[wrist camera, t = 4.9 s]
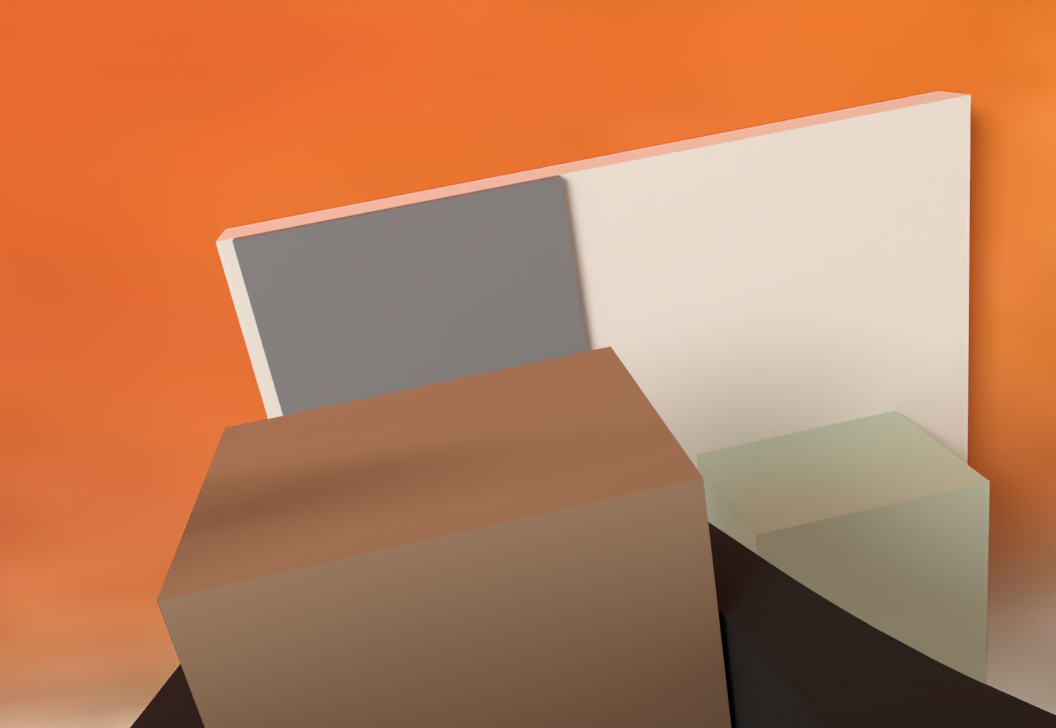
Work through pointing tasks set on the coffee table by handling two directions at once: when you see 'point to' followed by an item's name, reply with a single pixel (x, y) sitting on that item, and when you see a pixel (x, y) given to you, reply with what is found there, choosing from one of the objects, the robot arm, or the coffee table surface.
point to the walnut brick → (454, 562)
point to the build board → (650, 278)
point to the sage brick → (867, 527)
